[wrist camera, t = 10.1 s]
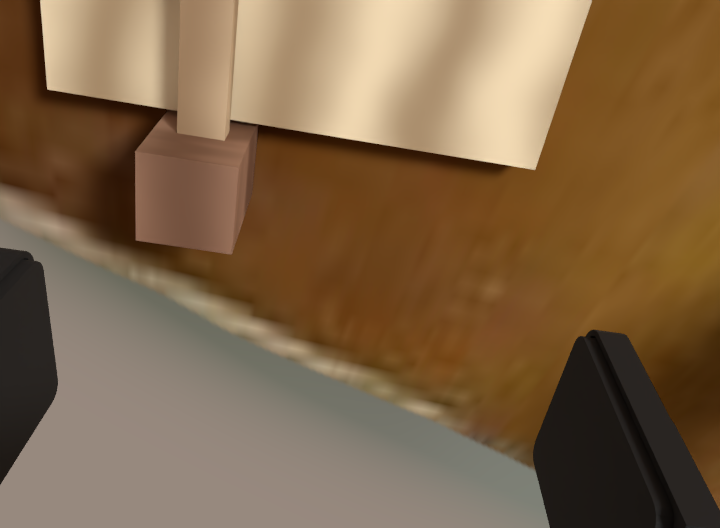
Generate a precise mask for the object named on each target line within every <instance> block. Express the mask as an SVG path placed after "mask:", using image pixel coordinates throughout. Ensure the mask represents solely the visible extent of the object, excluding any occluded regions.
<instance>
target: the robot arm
mask: <svg viewBox="0 0 720 528" xmlns="http://www.w3.org/2000/svg"><path fill="white" fill-rule="evenodd" d="M57 386H58V378H57V370H56V362H55V355H54V347H53V339H52V333H51V324H50V317H49V308H48V301H47V293H46V285H45V277H44V270H43V266H42V264H41V263H40V262H37V261H34V259H33V257H32V255H31V254H30V253H29V252H27V251H20V250H12V249H6V248H0V484H1V483H2V481H3V479H4V478H5V476H6V475H7V473H8V471H9V470H10V468H11V467H12V465H13V464H14V462H15V460H16V459H17V457H18V456H19V454H20V452H21V451H22V449H23V448H24V446H25V445H26V443H27V441H28V440H29V438H30V437H31V435H32V434H33V432H34V430H35V429H36V427H37V426H38V424H39V422H40V421H41V419H42V418H43V416H44V414H45V413H46V411H47V410H48V408H49V407H50V405H51V403H52V402H53V400H54V398H55V395H56V391H57ZM533 460H534V465H535V469H536V473H537V477H538V481H539V485H540V489H541V493H542V497H543V501H544V505H545V509H546V513H547V517H548V521H549V525H550V528H720V510H719V508H718V506H717V504H716V502H715V501H714V499H713V497H712V495H711V493H710V491H709V489H708V487H707V485H706V483H705V481H704V480H703V478H702V476H701V474H700V472H699V470H698V468H697V466H696V464H695V462H694V460H693V459H692V457H691V455H690V453H689V451H688V449H687V447H686V445H685V443H684V441H683V439H682V438H681V436H680V434H679V432H678V430H677V428H676V426H675V424H674V423H673V421H672V420H671V419H670V417H669V415H668V413H667V411H666V409H665V407H664V405H663V404H662V402H661V400H660V398H659V396H658V394H657V392H656V390H655V388H654V386H653V384H652V382H651V381H650V379H649V377H648V375H647V373H646V371H645V369H644V367H643V365H642V363H641V361H640V359H639V357H638V356H637V354H636V352H635V350H634V348H633V346H632V344H631V342H630V340H629V338H628V337H627V336H626V335H624V334H621V333H613V332H606V331H599V330H591V331H590V332H589V333H588V334H587V335H586V337H583V336H580V337H578V338H577V339H576V341H575V343H574V346H573V348H572V351H571V353H570V356H569V358H568V361H567V363H566V366H565V368H564V371H563V373H562V376H561V378H560V381H559V383H558V386H557V388H556V391H555V393H554V396H553V399H552V401H551V404H550V406H549V409H548V411H547V414H546V416H545V419H544V421H543V424H542V426H541V429H540V431H539V434H538V436H537V439H536V441H535V445H534V451H533Z"/></svg>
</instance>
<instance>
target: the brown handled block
mask: <svg viewBox="0 0 720 528" xmlns="http://www.w3.org/2000/svg"><path fill="white" fill-rule="evenodd" d="M238 4H239V0H180V35H179V73H178V110H177V111H175V110H169V109H168V111H167V112H166V113H165V114H164V116H163V117H162V118H161V119H160V121H159V122H158V123H157V125H156V126H155V127H154V128H153V130H152V131H151V132H150V133H149V135H148V136H147V137H146V138H145V140H144V141H143V142H142V143H141V145H140V146H139V147H138V148H137V150H136V151H135V203H136V241H143V242H150V243H157V244H164V245H171V246H177V247H184V248H191V249H198V250H205V251H211V252H218V253H225V254H232V252H233V249H234V246H235V243H236V240H237V237H238V234H239V231H240V228H241V225H242V222H243V219H244V216H245V213H246V210H247V207H248V204H249V201H250V198H251V195H252V189H253V178H254V168H255V157H256V147H257V136H258V125H259V124H254V123H248V122H242V121H236V120H230V117H231V103H232V88H233V74H234V60H235V46H236V32H237V18H238Z"/></svg>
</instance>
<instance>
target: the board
mask: <svg viewBox="0 0 720 528" xmlns="http://www.w3.org/2000/svg"><path fill="white" fill-rule="evenodd" d="M591 2H592V0H239V4H238V18H237V32H236V46H235V60H234V74H233V88H232V103H231V117H230V120H236V121H242V122H248V123H254V124H260V125H266V126H272V127H278V128H284V129H290V130H296V131H302V132H308V133H315V134H321V135H327V136H333V137H339V138H345V139H351V140H357V141H363V142H369V143H375V144H381V145H387V146H393V147H399V148H406V149H412V150H418V151H424V152H430V153H436V154H442V155H448V156H454V157H460V158H466V159H472V160H478V161H484V162H490V163H497V164H503V165H509V166H515V167H521V168H527V169H533V170H535V168H536V165H537V162H538V159H539V156H540V153H541V150H542V147H543V144H544V142H545V139H546V136H547V133H548V130H549V127H550V124H551V121H552V118H553V115H554V112H555V109H556V106H557V103H558V100H559V97H560V94H561V91H562V88H563V85H564V82H565V79H566V76H567V73H568V70H569V67H570V64H571V61H572V58H573V55H574V52H575V49H576V46H577V43H578V41H579V38H580V35H581V32H582V29H583V26H584V23H585V20H586V17H587V14H588V11H589V8H590V5H591ZM40 4H41V17H42V30H43V42H44V55H45V68H46V81H47V90H54V91H60V92H66V93H72V94H78V95H84V96H90V97H96V98H102V99H108V100H114V101H120V102H126V103H132V104H139V105H145V106H151V107H157V108H163V109H169V110H175V111H177V110H178V73H179V35H180V0H40Z"/></svg>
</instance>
